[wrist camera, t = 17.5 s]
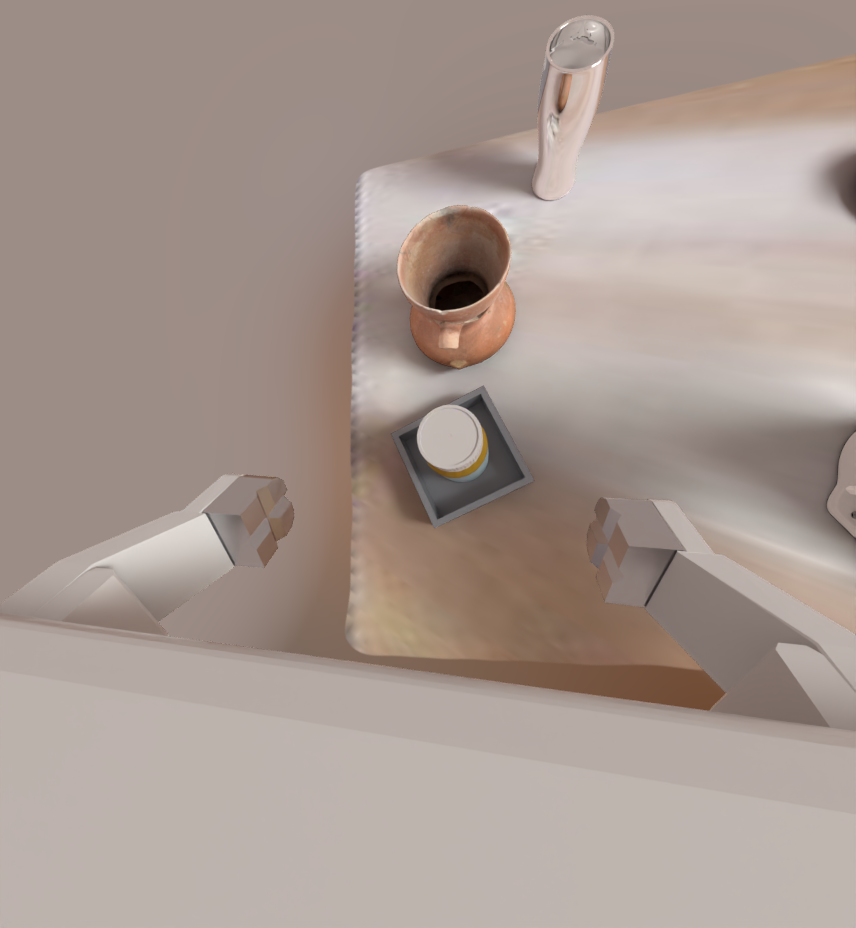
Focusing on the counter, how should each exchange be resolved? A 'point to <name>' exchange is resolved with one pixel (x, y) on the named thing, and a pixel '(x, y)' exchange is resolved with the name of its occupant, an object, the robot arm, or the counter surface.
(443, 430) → the bottle
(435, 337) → the ceramic jug
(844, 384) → the counter surface
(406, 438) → the box
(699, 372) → the counter surface
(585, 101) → the beer glass
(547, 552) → the counter surface
